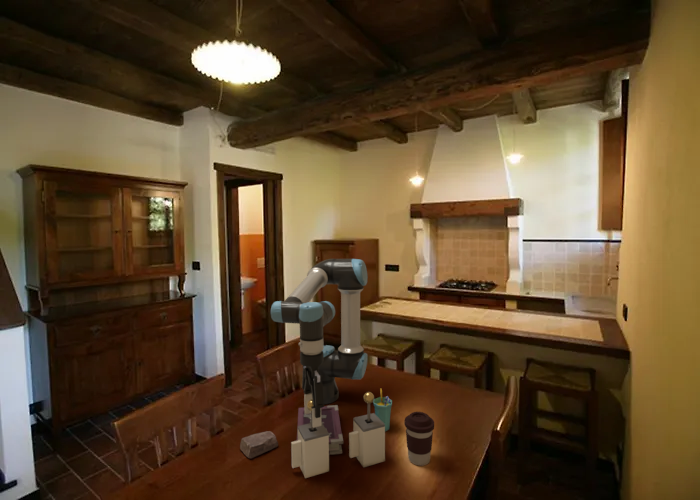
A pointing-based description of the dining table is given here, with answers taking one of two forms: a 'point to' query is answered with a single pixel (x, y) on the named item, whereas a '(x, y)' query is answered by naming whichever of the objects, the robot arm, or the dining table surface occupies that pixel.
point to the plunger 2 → (368, 403)
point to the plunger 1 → (309, 405)
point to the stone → (258, 444)
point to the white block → (367, 440)
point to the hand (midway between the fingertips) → (312, 419)
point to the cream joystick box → (311, 450)
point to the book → (326, 426)
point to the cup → (383, 409)
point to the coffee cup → (419, 437)
